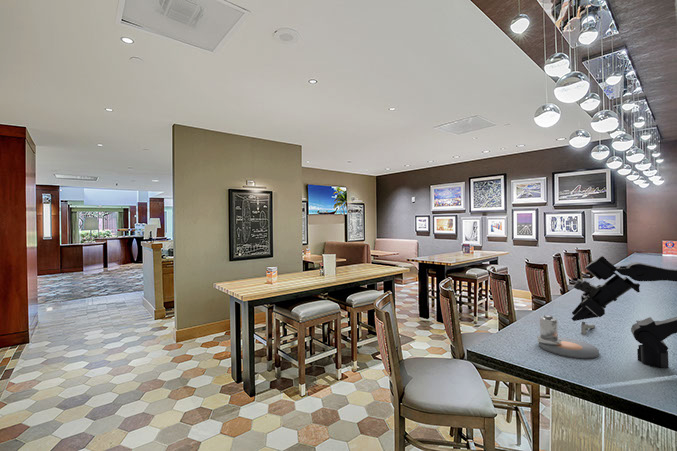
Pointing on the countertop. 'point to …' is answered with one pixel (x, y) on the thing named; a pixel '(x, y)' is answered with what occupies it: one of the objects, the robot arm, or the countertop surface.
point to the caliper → (586, 327)
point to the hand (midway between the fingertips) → (572, 316)
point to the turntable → (572, 349)
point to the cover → (548, 331)
